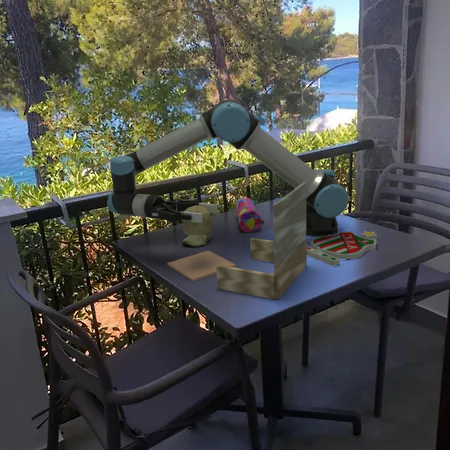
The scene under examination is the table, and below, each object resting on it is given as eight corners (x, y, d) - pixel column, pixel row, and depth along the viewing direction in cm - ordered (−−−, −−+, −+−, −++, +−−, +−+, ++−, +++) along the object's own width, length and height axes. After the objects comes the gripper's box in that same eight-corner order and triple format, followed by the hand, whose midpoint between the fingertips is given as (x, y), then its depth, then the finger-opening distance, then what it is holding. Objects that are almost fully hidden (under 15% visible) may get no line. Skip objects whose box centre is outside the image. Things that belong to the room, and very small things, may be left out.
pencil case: (264, 232, 180) (264, 209, 177) (240, 234, 179) (239, 211, 176) (255, 215, 200) (255, 194, 197) (233, 217, 200) (232, 196, 197)
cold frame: (217, 288, 137) (212, 198, 128) (252, 257, 157) (249, 178, 148) (278, 300, 128) (276, 205, 120) (306, 266, 149) (307, 182, 140)
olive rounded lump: (211, 244, 146) (223, 215, 147) (186, 233, 140) (199, 202, 141) (196, 239, 154) (208, 211, 154) (171, 228, 148) (184, 199, 149)
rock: (182, 251, 169) (209, 247, 167) (178, 234, 167) (205, 230, 165) (188, 241, 179) (213, 237, 177) (184, 225, 177) (210, 221, 176)
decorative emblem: (293, 244, 161) (354, 225, 177) (293, 250, 162) (354, 231, 177) (334, 261, 146) (396, 238, 162) (334, 268, 147) (396, 245, 163)
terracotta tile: (208, 252, 163) (208, 250, 163) (235, 267, 150) (235, 264, 150) (167, 265, 154) (167, 262, 154) (193, 281, 142) (192, 279, 142)
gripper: (169, 208, 165) (226, 215, 155) (130, 227, 147) (192, 236, 137) (167, 187, 162) (225, 192, 152) (127, 204, 144) (190, 212, 134)
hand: (209, 213), depth 145 cm, fingers closed on olive rounded lump, 9 cm apart
